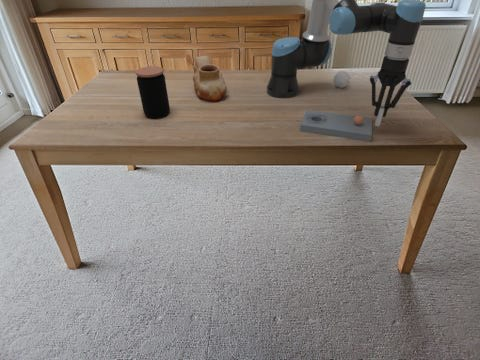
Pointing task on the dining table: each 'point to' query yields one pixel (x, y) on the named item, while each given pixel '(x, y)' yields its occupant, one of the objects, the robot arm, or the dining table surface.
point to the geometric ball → (341, 79)
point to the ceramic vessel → (208, 80)
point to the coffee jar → (153, 91)
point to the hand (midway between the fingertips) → (377, 124)
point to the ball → (358, 120)
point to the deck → (336, 125)
